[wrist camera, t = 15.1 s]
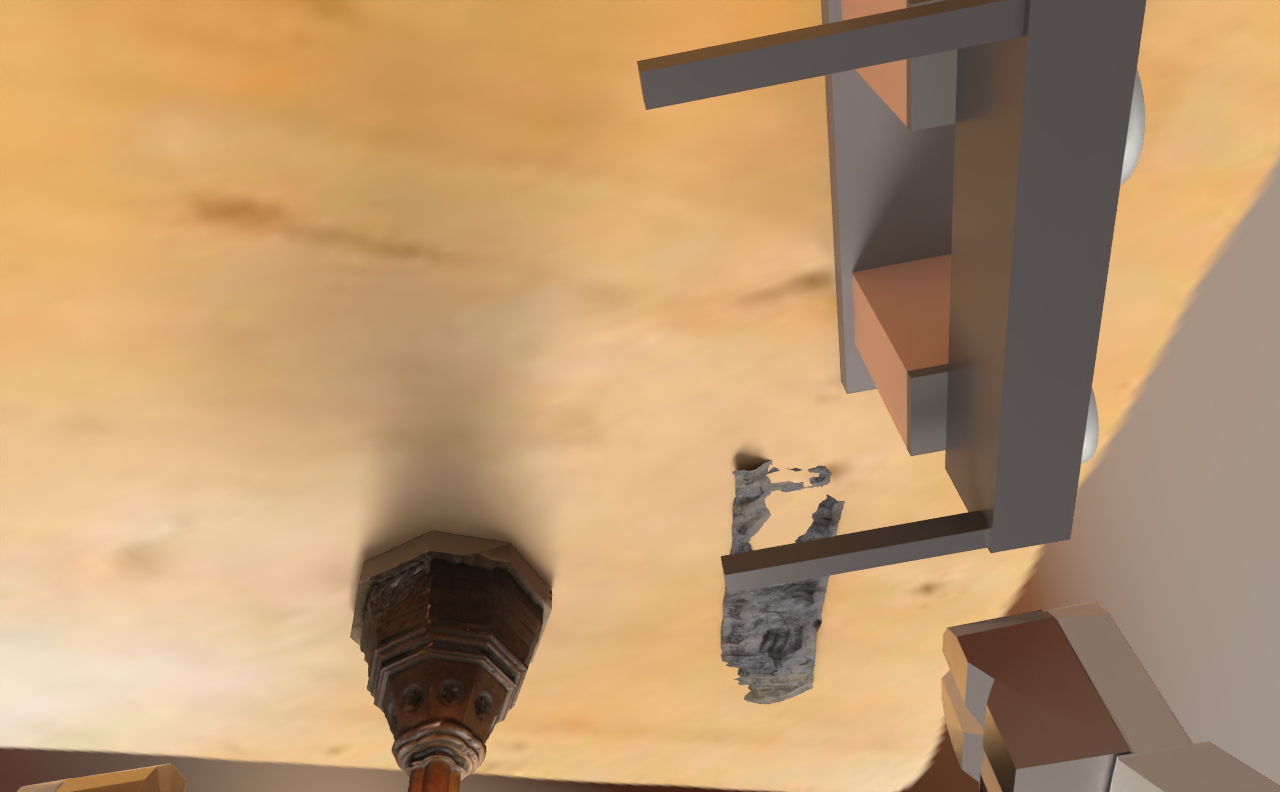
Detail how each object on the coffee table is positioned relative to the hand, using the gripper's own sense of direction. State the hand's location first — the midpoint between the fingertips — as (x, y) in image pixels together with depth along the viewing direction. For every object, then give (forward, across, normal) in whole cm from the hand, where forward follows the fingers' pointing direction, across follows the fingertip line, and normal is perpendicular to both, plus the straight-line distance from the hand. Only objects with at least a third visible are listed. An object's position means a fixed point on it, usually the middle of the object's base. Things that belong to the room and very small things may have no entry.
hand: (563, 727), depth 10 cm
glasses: (+23, -9, +9) cm, 26 cm away
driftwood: (+34, -6, +36) cm, 50 cm away
